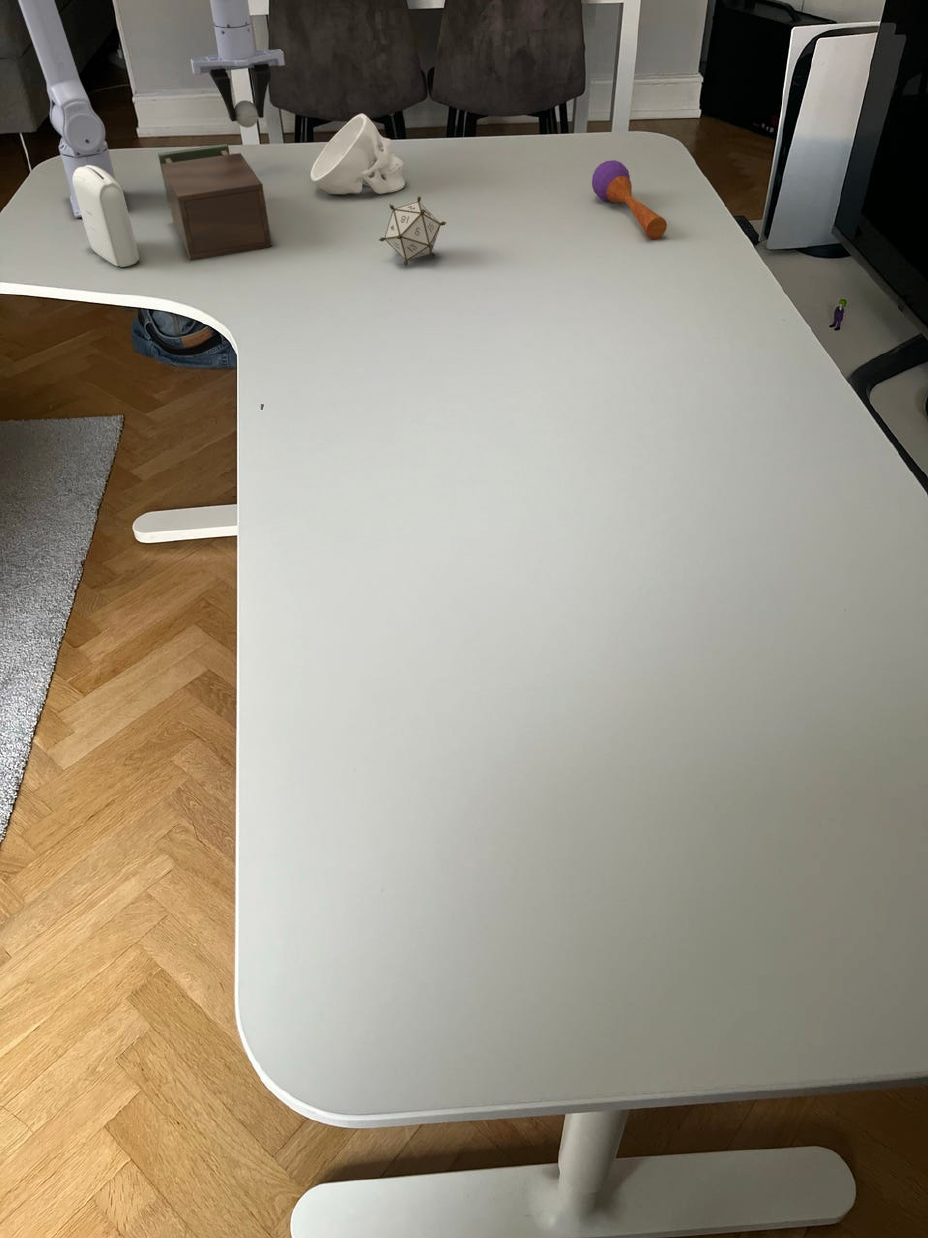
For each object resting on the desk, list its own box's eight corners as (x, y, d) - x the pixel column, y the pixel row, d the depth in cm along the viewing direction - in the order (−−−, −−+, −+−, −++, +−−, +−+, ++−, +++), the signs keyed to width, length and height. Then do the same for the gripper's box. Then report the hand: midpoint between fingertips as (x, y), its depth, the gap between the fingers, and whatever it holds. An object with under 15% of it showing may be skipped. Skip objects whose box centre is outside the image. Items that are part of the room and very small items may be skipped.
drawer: (163, 191, 163) (153, 144, 158) (229, 181, 166) (221, 135, 161) (182, 230, 151) (171, 180, 146) (253, 219, 153) (245, 170, 148)
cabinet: (173, 224, 155) (160, 163, 148) (250, 212, 158) (240, 152, 152) (190, 260, 145) (177, 196, 138) (271, 246, 148) (262, 183, 142)
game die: (403, 286, 145) (357, 235, 139) (424, 245, 149) (379, 193, 143) (445, 269, 139) (399, 215, 133) (466, 227, 142) (422, 172, 137)
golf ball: (232, 130, 163) (228, 103, 161) (240, 122, 166) (236, 96, 164) (255, 131, 163) (252, 104, 160) (263, 123, 166) (259, 97, 163)
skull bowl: (421, 185, 161) (376, 120, 153) (353, 238, 165) (305, 178, 157) (409, 163, 169) (366, 100, 161) (344, 215, 172) (299, 156, 164)
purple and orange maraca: (636, 215, 144) (584, 160, 157) (638, 252, 148) (587, 196, 161) (674, 202, 144) (619, 149, 157) (675, 240, 149) (621, 185, 162)
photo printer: (87, 249, 148) (63, 162, 140) (114, 241, 150) (91, 155, 142) (116, 270, 142) (93, 181, 134) (144, 262, 144) (123, 174, 136)
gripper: (190, 33, 150) (207, 130, 159) (284, 24, 154) (295, 118, 163) (182, 23, 155) (199, 118, 164) (273, 14, 158) (284, 107, 168)
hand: (246, 117), depth 164 cm, fingers closed on golf ball, 4 cm apart
